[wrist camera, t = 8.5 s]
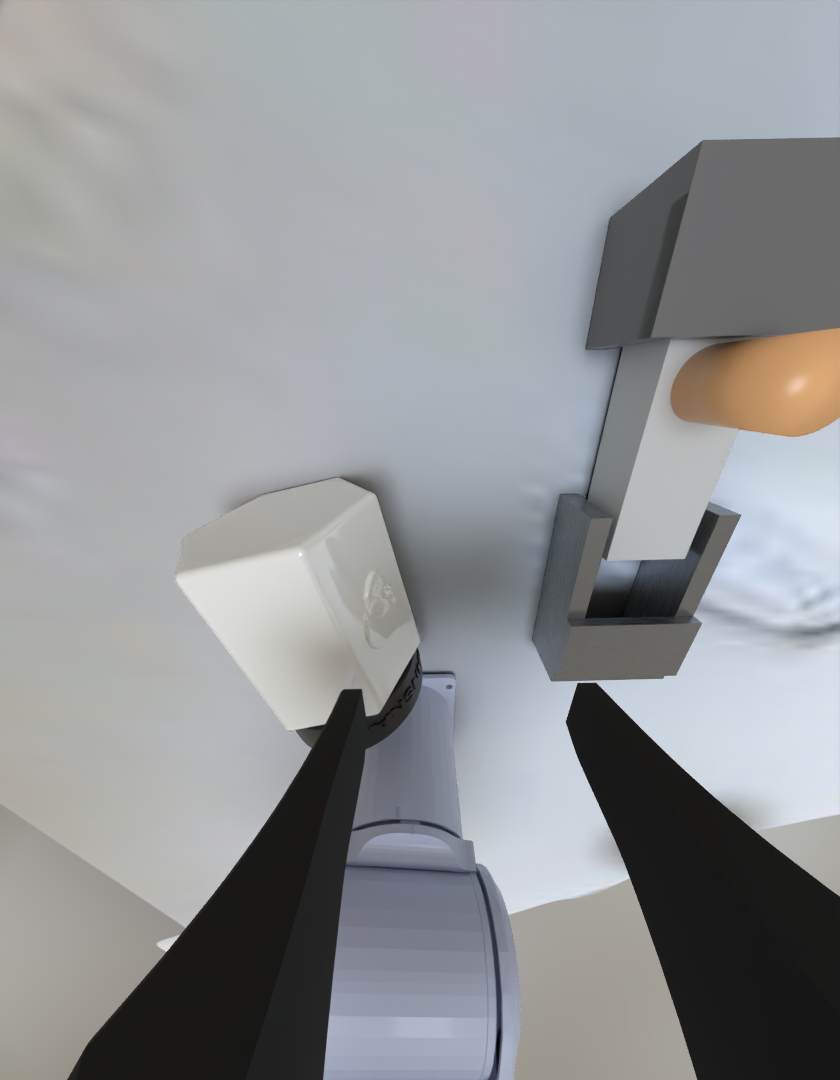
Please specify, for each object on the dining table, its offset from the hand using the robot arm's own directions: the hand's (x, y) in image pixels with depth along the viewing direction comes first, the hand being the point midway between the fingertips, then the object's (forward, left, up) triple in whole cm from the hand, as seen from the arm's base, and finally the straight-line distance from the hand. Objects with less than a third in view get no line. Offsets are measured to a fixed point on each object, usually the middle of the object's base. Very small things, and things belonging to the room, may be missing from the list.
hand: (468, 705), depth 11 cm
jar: (+5, +8, -6) cm, 11 cm away
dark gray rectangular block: (+14, -10, -10) cm, 20 cm away
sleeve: (-1, -10, -10) cm, 14 cm away
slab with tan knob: (+8, -10, -10) cm, 16 cm away
